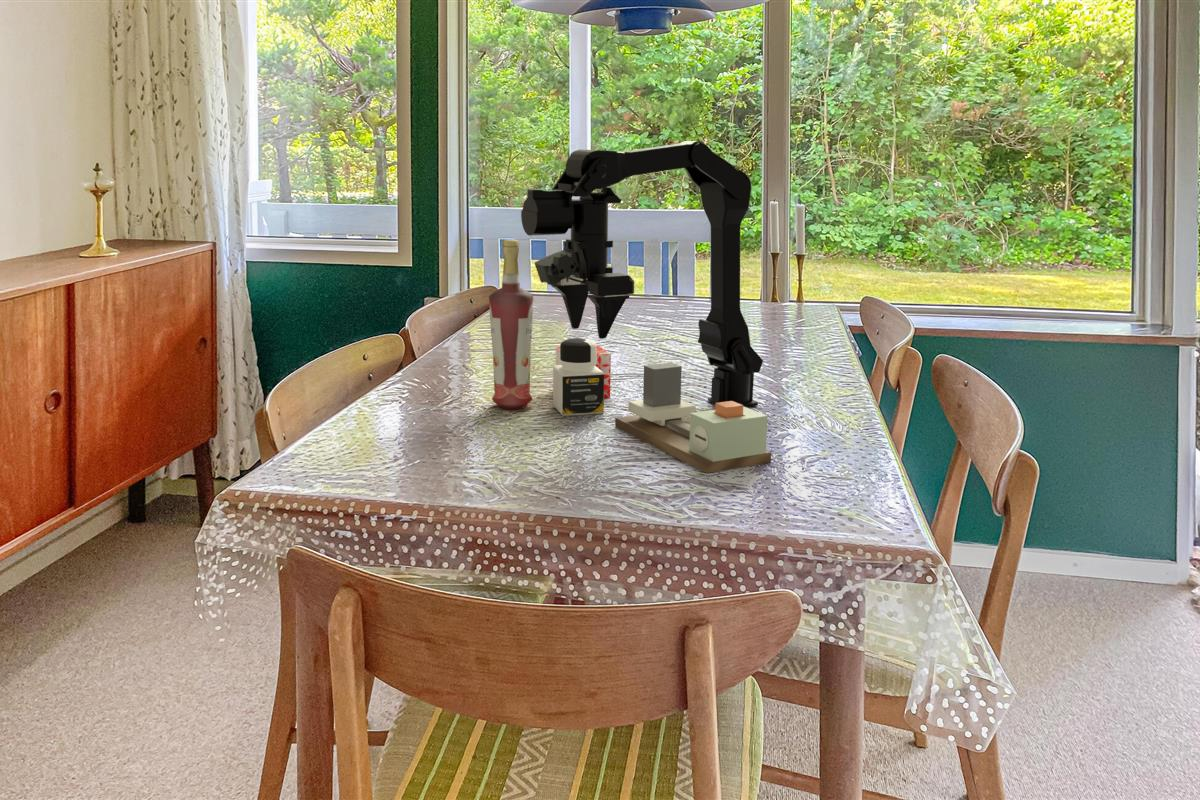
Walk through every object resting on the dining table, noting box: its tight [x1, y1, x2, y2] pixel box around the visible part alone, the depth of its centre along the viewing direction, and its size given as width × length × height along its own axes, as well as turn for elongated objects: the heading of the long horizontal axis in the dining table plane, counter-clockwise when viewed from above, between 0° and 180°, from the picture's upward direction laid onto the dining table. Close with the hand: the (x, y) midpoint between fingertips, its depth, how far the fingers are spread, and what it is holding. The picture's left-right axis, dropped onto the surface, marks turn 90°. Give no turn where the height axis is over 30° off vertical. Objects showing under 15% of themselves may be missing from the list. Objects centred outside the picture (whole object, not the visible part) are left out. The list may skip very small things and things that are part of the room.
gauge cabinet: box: [689, 406, 769, 462], centre depth 149 cm, size 9×6×6 cm, turn 118°
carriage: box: [627, 362, 696, 426], centre depth 164 cm, size 8×7×8 cm
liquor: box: [488, 239, 534, 411], centre depth 175 cm, size 7×7×28 cm
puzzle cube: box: [555, 344, 612, 399], centre depth 187 cm, size 8×8×8 cm
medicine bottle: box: [552, 337, 605, 417], centre depth 175 cm, size 7×7×12 cm
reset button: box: [714, 401, 743, 419], centre depth 148 cm, size 3×3×4 cm
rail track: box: [614, 414, 772, 474], centre depth 158 cm, size 11×26×2 cm, turn 28°
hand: (588, 333), depth 165 cm, fingers open, 9 cm apart
